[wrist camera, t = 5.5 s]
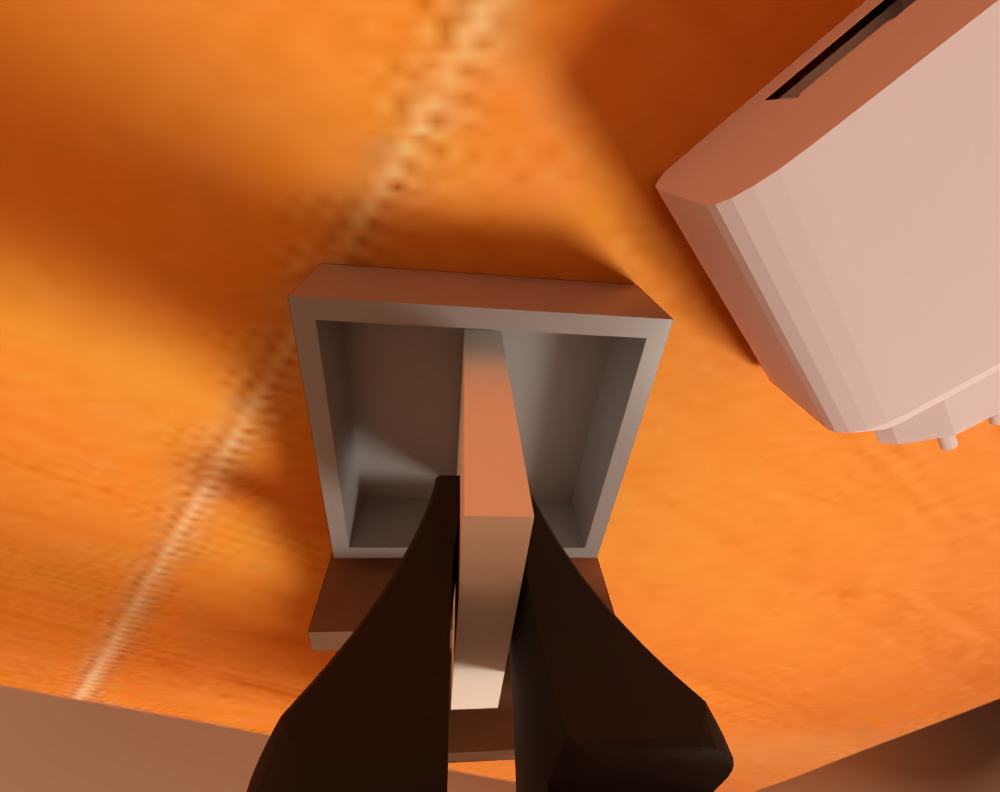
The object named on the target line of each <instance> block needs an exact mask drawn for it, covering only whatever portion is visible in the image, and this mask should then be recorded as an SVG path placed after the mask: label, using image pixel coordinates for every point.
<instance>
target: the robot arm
mask: <svg viewBox="0 0 1000 792" xmlns="http://www.w3.org/2000/svg"><path fill="white" fill-rule="evenodd" d="M529 491H530V489H529ZM530 496H531V502H532V507H533V513H534V521H533V526H532V531H531V536H530V542H529V547H528V552H527V557H526V562H525V568H524V573H523V578H522V583H521V589H520V594H519V599H518V604H517V610H516V615H515V620H514V625H513V631H512V636H511V641H510V646H509V653H510V669H511V686H512V704H513V724H514V745H515V768H516V792H714V791H715V790H716V789H717V788H718V787H719V785H720V784H721V783H722V782H723V781H724V780H725V779H726V778H727V777H728V776H729V774H730V773H731V771H732V769H733V766H734V765H733V757H732V755H731V752H730V750H729V748H728V745H727V743H726V741H725V738H724V736H723V734H722V732H721V730H720V728H719V726H718V724H717V722H716V720H715V718H714V717H713V715H712V713H711V711H710V709H709V707H708V705H707V704H706V702H705V701H704V700H703V699H702V698H701V697H699V696H698V695H697V694H696V693H695V692H694V691H692V690H691V689H690V688H689V687H688V686H687V685H686V684H684V683H683V682H682V681H681V680H680V679H679V678H677V677H676V676H675V675H674V674H673V673H672V672H671V671H670V670H669V669H668V668H666V667H665V666H664V665H663V664H662V663H661V662H660V661H659V660H658V659H657V658H656V657H655V656H654V655H653V654H652V653H651V652H650V651H649V650H648V649H647V648H646V647H645V646H643V644H642V643H641V642H640V641H639V640H638V639H637V638H636V637H635V636H634V635H633V634H632V633H631V632H630V631H629V630H628V629H627V628H626V627H625V625H624V624H623V623H622V622H621V621H620V620H619V619H618V618H617V617H616V616H615V615H614V614H613V613H612V611H611V610H610V609H609V608H608V607H607V606H606V604H605V603H604V602H603V601H602V600H601V599H600V597H599V596H598V595H597V594H596V592H595V591H594V590H593V589H592V587H591V586H590V585H589V584H588V582H587V581H586V580H585V579H584V577H583V576H582V575H581V573H580V572H579V570H578V569H577V568H576V566H575V565H574V563H573V562H572V561H571V559H570V558H569V556H568V555H567V553H566V552H565V550H564V549H563V547H562V546H561V544H560V543H559V541H558V540H557V538H556V536H555V535H554V533H553V531H552V530H551V528H550V526H549V525H548V523H547V521H546V520H545V518H544V516H543V514H542V512H541V511H540V509H539V507H538V505H537V503H536V501H535V499H534V497H533V495H532V493H531V491H530ZM459 516H460V476H458V475H439V476H438V477H437V478H436V479H435V485H434V488H433V492H432V495H431V498H430V501H429V503H428V506H427V509H426V511H425V514H424V516H423V518H422V520H421V522H420V525H419V527H418V529H417V531H416V533H415V535H414V537H413V539H412V541H411V543H410V545H409V547H408V549H407V550H406V552H405V554H404V556H403V558H402V560H401V562H400V563H399V565H398V567H397V568H396V570H395V572H394V574H393V575H392V577H391V578H390V580H389V582H388V583H387V585H386V586H385V588H384V589H383V591H382V593H381V594H380V596H379V597H378V599H377V600H376V601H375V603H374V604H373V606H372V607H371V609H370V610H369V611H368V613H367V614H366V616H365V617H364V618H363V620H362V621H361V623H360V624H359V625H358V627H357V628H356V629H355V631H354V632H353V633H352V635H351V636H350V637H349V638H348V639H347V641H346V642H345V643H344V644H343V646H342V647H341V648H340V649H339V651H338V652H337V653H336V654H335V656H334V657H333V658H332V659H331V661H330V662H329V663H328V664H327V665H326V667H325V668H324V669H323V670H322V671H321V673H320V674H319V675H318V676H317V677H316V678H315V679H314V680H313V682H312V683H311V684H310V685H309V686H308V687H307V688H306V689H305V690H304V691H303V693H302V694H301V695H300V696H299V697H298V698H297V699H296V700H295V701H294V703H293V704H292V705H291V706H290V707H289V708H288V709H287V710H286V711H285V712H284V714H283V715H282V716H281V717H280V719H279V721H278V723H277V725H276V726H275V728H274V730H273V732H272V734H271V736H270V738H269V740H268V742H267V744H266V746H265V748H264V750H263V752H262V754H261V756H260V758H259V761H258V763H257V765H256V768H255V770H254V773H253V775H252V778H251V780H250V783H249V786H248V789H247V792H447V776H448V774H447V773H448V732H449V678H450V630H451V618H452V609H453V600H454V591H455V582H456V566H457V549H458V532H459Z"/></svg>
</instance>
